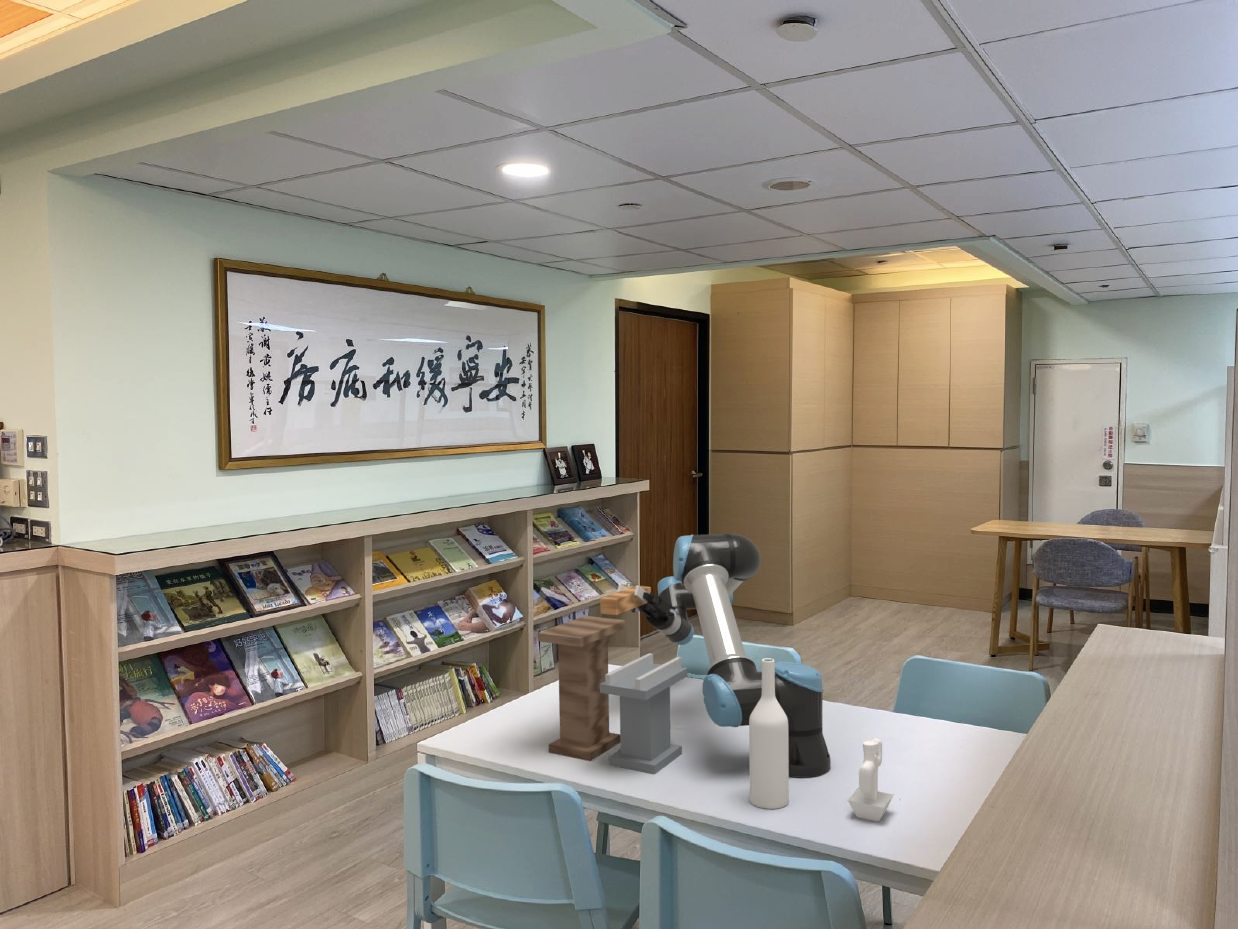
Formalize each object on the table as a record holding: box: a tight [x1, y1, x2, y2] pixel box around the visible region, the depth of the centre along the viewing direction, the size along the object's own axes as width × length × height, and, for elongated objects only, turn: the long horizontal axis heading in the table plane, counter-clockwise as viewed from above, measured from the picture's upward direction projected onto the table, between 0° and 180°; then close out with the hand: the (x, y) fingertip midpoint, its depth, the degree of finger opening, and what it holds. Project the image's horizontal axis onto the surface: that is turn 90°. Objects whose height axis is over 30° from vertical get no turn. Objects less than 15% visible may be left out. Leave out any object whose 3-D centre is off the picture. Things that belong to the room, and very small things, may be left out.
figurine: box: [847, 737, 894, 823], centre depth 182 cm, size 7×9×15 cm
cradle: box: [600, 653, 688, 775], centre depth 214 cm, size 21×12×22 cm, turn 150°
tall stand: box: [537, 615, 627, 762], centre depth 222 cm, size 21×12×30 cm, turn 150°
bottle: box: [748, 657, 790, 810], centre depth 189 cm, size 8×8×30 cm
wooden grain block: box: [599, 585, 652, 616], centre depth 240 cm, size 19×5×4 cm, turn 150°
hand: (628, 589), depth 241 cm, fingers closed on wooden grain block, 5 cm apart
